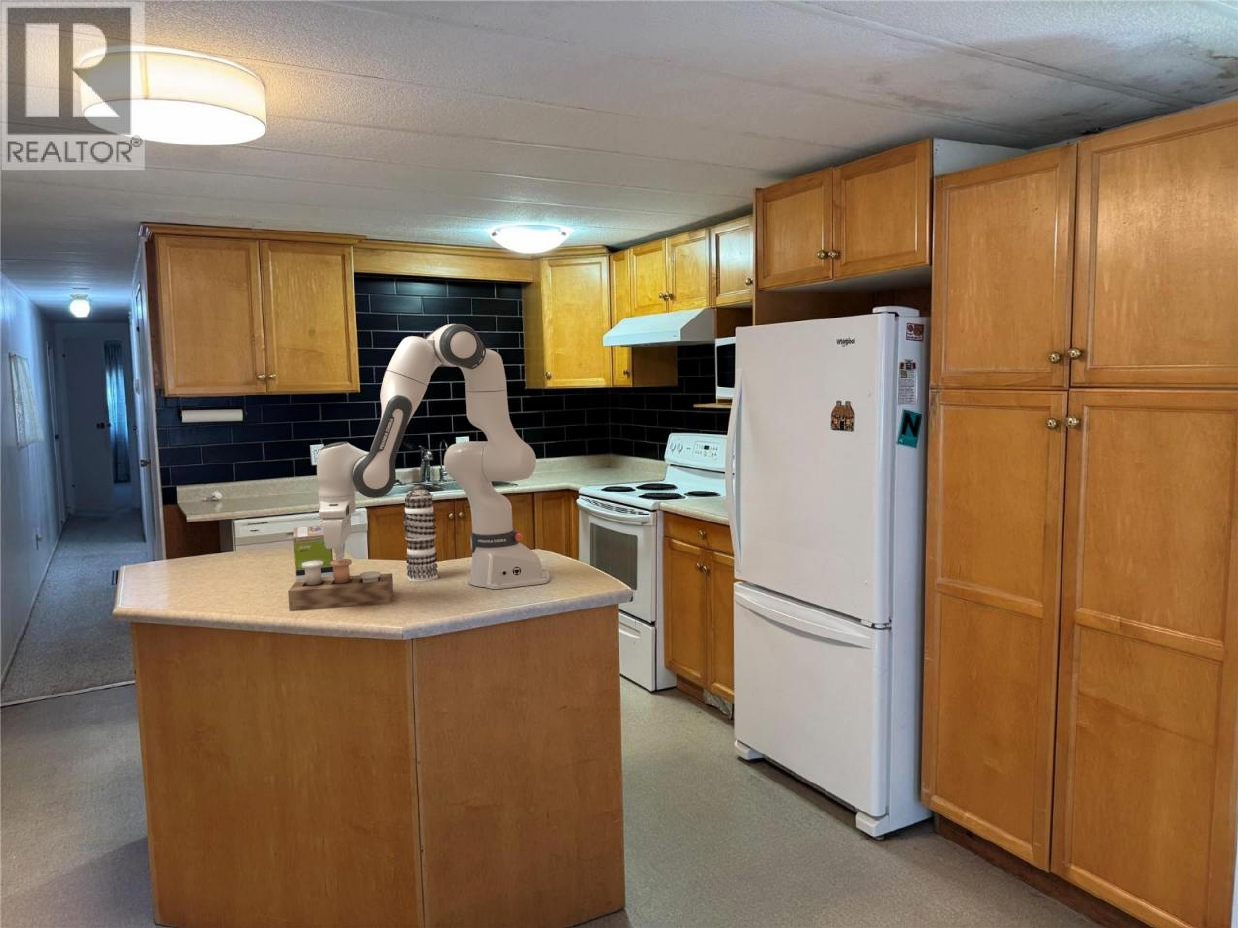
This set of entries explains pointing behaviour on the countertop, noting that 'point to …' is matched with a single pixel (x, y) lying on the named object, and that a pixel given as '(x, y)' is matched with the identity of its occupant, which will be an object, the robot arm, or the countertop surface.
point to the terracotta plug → (341, 570)
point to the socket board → (340, 593)
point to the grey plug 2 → (370, 576)
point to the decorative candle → (420, 536)
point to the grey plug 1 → (312, 572)
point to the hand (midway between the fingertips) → (340, 559)
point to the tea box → (311, 550)
